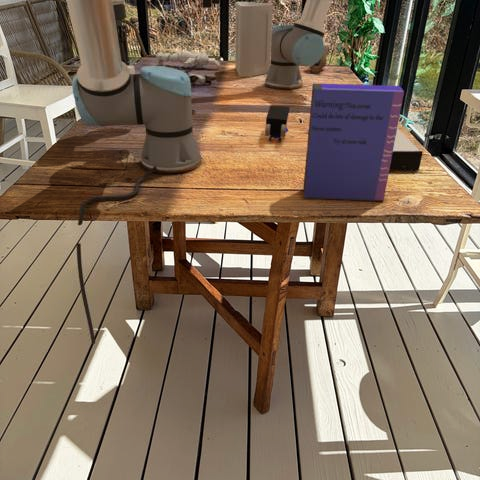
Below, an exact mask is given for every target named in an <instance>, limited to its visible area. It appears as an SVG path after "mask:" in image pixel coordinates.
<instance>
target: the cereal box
mask: <svg viewBox="0 0 480 480" xmlns="http://www.w3.org/2000/svg"><path fill="white" fill-rule="evenodd" d="M404 94H405V91H404V90H403V88H402V87H401V86H399V85H380V84H379V85H377V84H376V85H375V84H344V83H343V84H341V83H312V87H311V99H310V109H309V120H308V121H309V122H308V131H307V145H306V153H305V154H306V155H305V165H304V177H303V188H302V189H303V190H302V191H303V197H304V199H317V200H343V201H344V200H345V201H346V200H347V201H366V202H367V201H368V202H369V201H370V202H384V201H385V195H386V190H387V184H388V178H389V174H390V171H389V169H390V164H391V158H392V153H393V148H394V142H395V137H396V132H397V128H399V127H398V126H399V120H400V115H401V111H402V104H403V100H404V99H403V98H404Z"/></svg>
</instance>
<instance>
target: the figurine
mask: <svg viewBox="0 0 480 480" xmlns="http://www.w3.org/2000/svg"><path fill="white" fill-rule="evenodd" d="M162 67H169V68H174V69H178V70H180V71H183V72H184V70H183V69H182V67H175V66H173V65H170V64H166V63H163V64H162ZM185 73H186V74H187V75H188V76H189V78H190V83H191V84H195V83H200V84H203V85H206V84H209V85H211V84H212V82H214V81H216V80H218V77H217V76H215V75H214V76H209V75H207V74H206V73H205V74H204V75H198V74H195V73H189V72H185Z"/></svg>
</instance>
